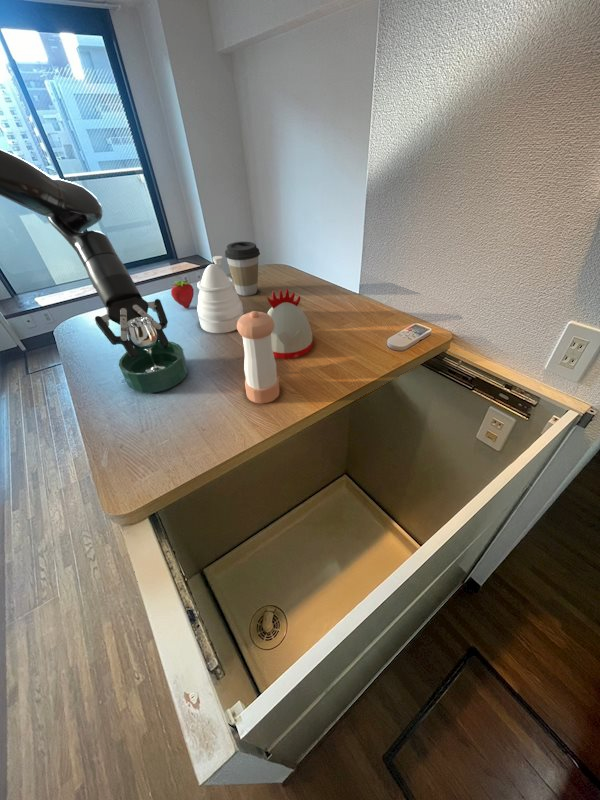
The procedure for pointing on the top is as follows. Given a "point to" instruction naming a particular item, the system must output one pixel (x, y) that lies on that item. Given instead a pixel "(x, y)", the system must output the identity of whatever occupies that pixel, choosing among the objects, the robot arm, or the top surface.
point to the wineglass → (144, 339)
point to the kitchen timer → (289, 327)
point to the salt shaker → (259, 357)
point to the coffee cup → (243, 266)
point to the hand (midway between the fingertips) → (151, 352)
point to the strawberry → (182, 293)
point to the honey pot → (218, 300)
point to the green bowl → (158, 379)
